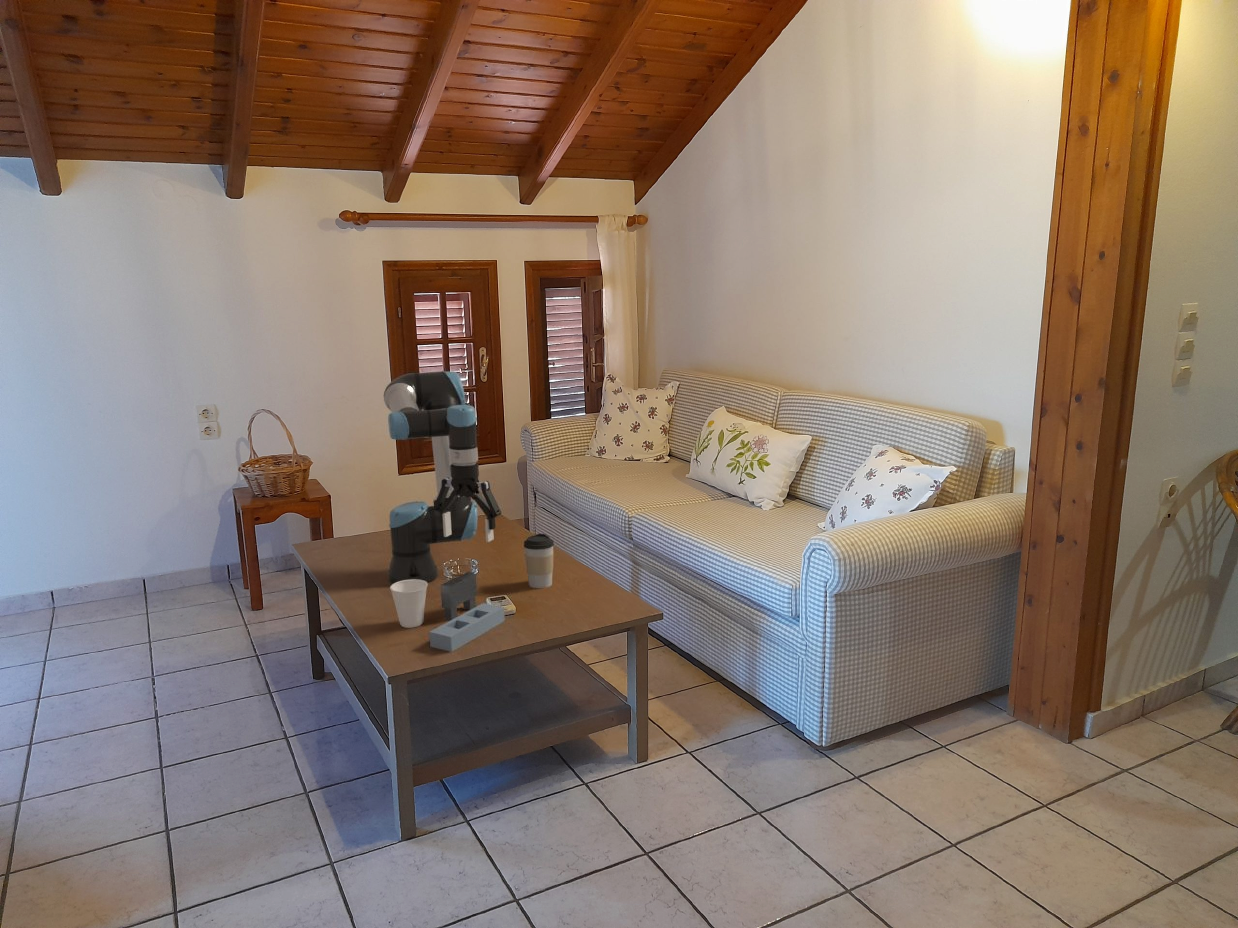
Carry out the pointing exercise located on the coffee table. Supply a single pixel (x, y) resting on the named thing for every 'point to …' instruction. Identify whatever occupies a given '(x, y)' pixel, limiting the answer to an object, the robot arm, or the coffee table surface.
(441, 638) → the grey block with hole
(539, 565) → the coffee cup
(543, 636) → the coffee table surface
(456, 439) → the robot arm
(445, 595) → the clip
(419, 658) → the coffee table surface
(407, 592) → the cup
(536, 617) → the coffee table surface
